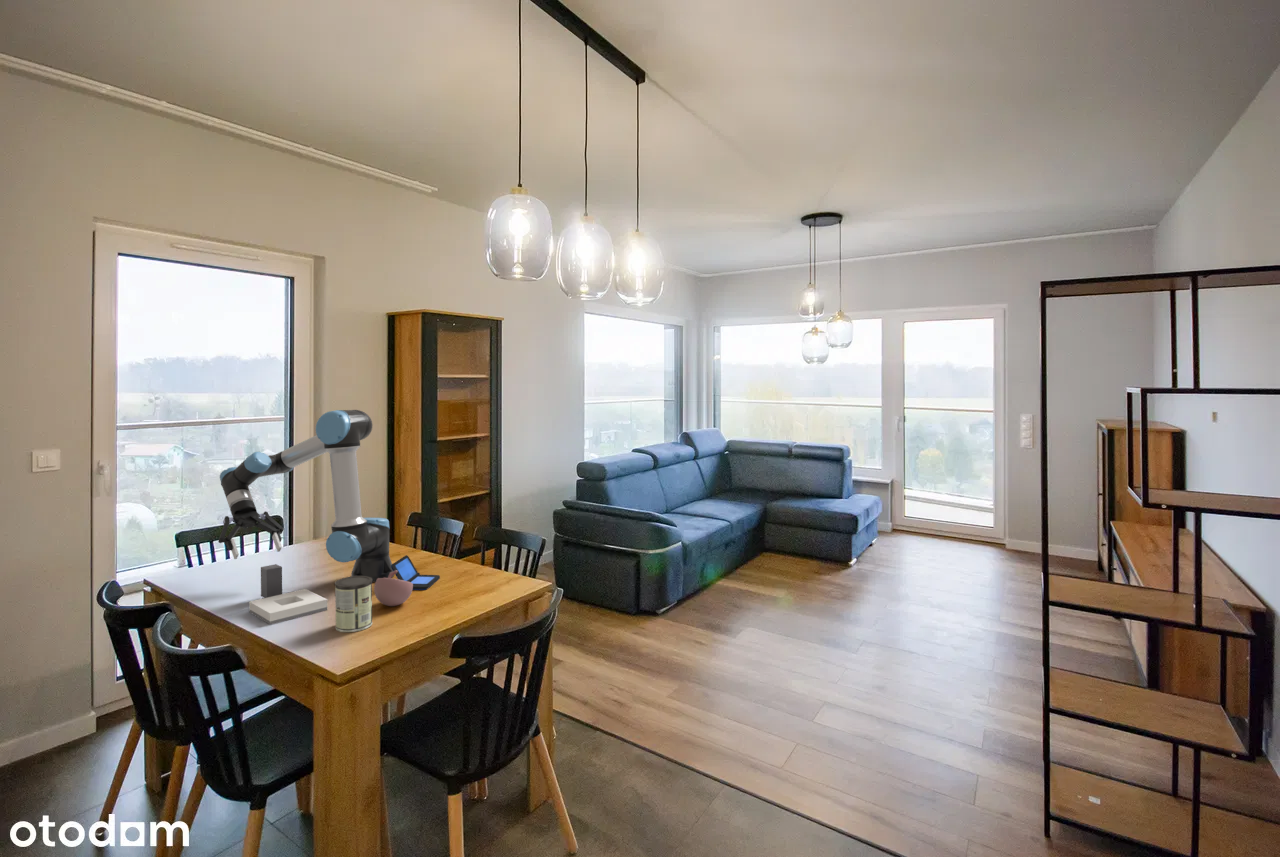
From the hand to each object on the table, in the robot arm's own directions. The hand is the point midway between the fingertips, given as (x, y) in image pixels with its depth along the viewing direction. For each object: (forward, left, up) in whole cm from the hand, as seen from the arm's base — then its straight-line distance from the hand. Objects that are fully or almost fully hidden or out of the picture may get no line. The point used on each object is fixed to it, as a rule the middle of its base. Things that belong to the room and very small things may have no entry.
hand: (258, 553), depth 211 cm
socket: (-13, +23, -14) cm, 30 cm away
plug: (-5, +8, -14) cm, 17 cm away
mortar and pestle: (-44, +27, -14) cm, 54 cm away
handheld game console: (-52, +5, -15) cm, 54 cm away
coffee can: (-33, +43, -14) cm, 57 cm away
